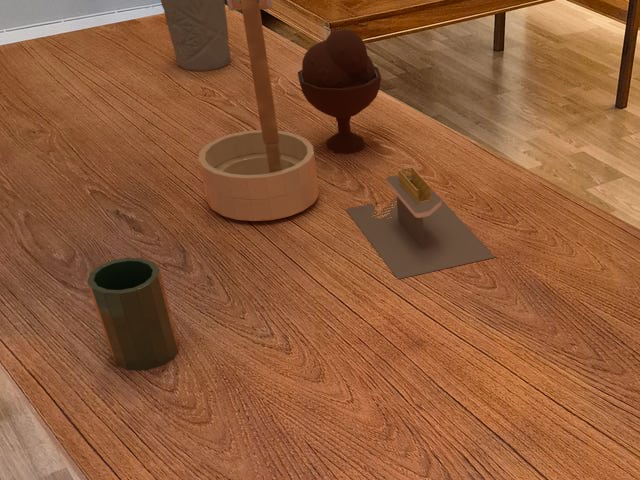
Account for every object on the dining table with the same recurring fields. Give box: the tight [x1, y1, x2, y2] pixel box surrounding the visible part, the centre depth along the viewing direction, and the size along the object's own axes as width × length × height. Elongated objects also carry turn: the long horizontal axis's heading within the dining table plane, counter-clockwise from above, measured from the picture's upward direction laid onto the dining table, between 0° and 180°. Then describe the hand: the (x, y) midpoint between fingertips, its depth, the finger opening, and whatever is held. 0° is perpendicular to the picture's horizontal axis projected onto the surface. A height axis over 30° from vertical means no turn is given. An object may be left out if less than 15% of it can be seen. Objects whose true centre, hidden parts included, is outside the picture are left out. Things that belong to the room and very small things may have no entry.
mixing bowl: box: [198, 129, 320, 222], centre depth 109 cm, size 14×14×6 cm
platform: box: [345, 166, 496, 280], centre depth 103 cm, size 12×18×7 cm, turn 25°
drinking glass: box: [160, 0, 232, 72], centre depth 142 cm, size 10×10×12 cm
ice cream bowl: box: [297, 29, 382, 154], centre depth 118 cm, size 11×11×15 cm
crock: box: [86, 257, 180, 371], centre depth 84 cm, size 6×6×9 cm
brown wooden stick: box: [241, 0, 283, 173], centre depth 102 cm, size 2×3×24 cm, turn 10°
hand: (250, 8), depth 96 cm, fingers closed on brown wooden stick, 2 cm apart
